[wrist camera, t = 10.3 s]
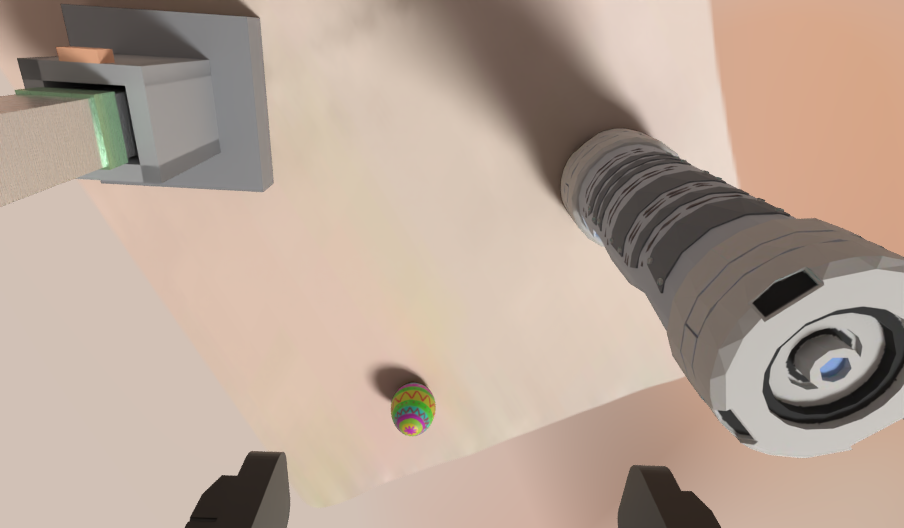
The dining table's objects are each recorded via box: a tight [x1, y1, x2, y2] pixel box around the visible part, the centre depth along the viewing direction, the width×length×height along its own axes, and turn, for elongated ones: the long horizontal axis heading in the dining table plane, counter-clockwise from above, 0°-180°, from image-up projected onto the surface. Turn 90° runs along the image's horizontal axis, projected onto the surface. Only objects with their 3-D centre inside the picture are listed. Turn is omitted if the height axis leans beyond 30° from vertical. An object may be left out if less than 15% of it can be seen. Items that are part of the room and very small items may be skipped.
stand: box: [17, 4, 274, 192], centre depth 38 cm, size 14×14×13 cm
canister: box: [561, 128, 904, 458], centre depth 34 cm, size 10×10×30 cm
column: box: [0, 84, 138, 207], centre depth 27 cm, size 4×4×20 cm
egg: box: [391, 383, 435, 436], centre depth 55 cm, size 5×5×6 cm
